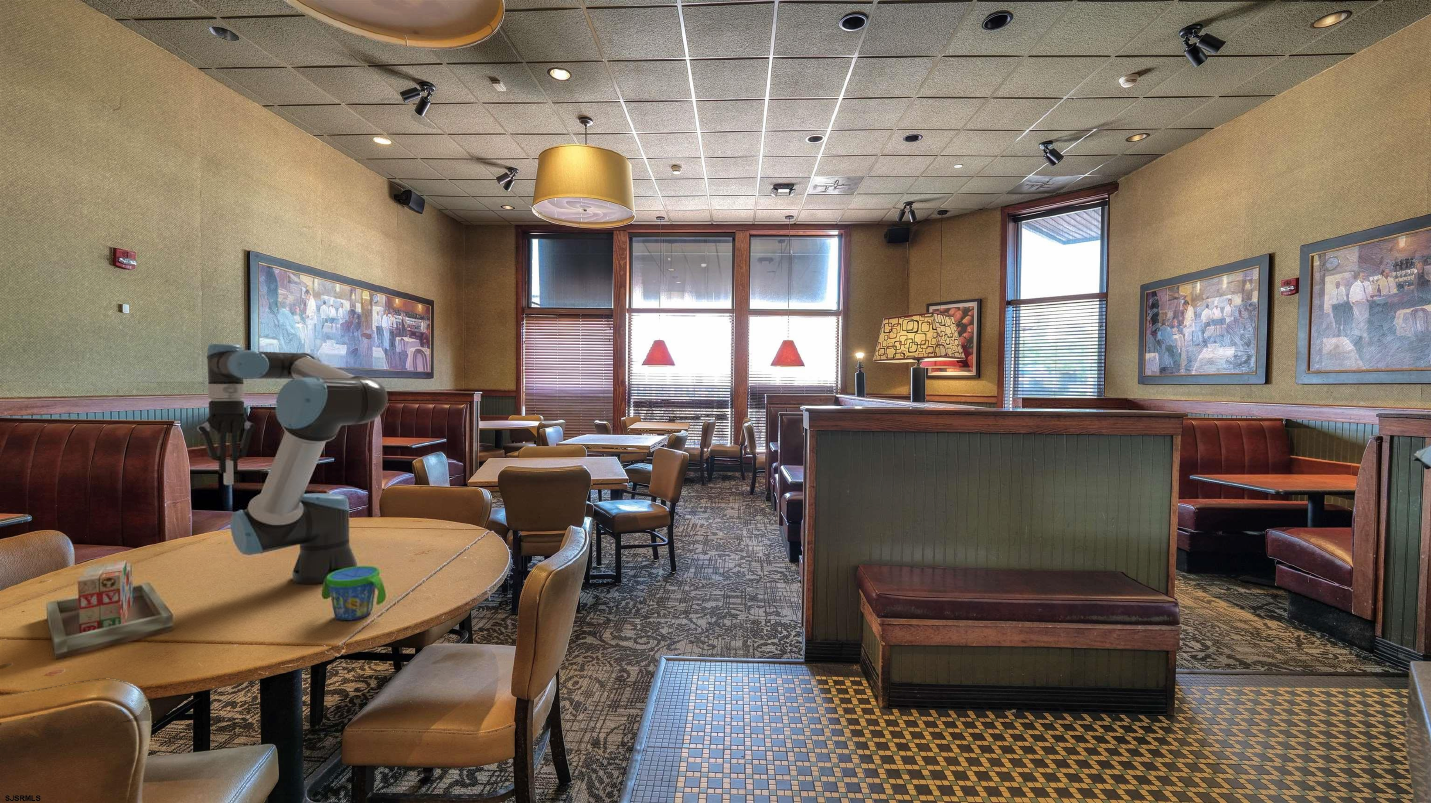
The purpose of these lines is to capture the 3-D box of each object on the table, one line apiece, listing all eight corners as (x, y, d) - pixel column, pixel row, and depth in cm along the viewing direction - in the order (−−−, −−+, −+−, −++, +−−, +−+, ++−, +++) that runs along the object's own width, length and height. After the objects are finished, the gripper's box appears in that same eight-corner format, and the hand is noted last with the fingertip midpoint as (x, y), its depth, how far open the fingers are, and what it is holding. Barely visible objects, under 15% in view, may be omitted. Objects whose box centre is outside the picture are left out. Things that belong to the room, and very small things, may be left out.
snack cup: (398, 610, 138) (398, 569, 137) (359, 628, 128) (358, 583, 127) (349, 602, 142) (348, 562, 142) (307, 619, 132) (306, 576, 132)
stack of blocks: (96, 607, 136) (94, 555, 135) (134, 600, 140) (132, 550, 139) (79, 638, 120) (76, 580, 119) (121, 629, 124) (120, 573, 123)
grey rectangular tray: (149, 596, 145) (149, 582, 145) (173, 630, 126) (172, 614, 126) (46, 618, 132) (46, 602, 132) (55, 659, 113) (55, 641, 113)
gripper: (199, 400, 152) (202, 489, 153) (260, 399, 163) (262, 482, 163) (191, 400, 156) (194, 486, 157) (250, 399, 167) (252, 479, 168)
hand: (228, 484), depth 160 cm, fingers closed
